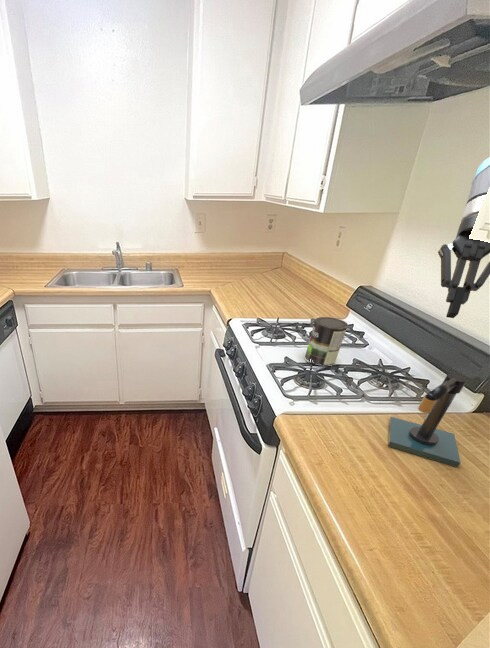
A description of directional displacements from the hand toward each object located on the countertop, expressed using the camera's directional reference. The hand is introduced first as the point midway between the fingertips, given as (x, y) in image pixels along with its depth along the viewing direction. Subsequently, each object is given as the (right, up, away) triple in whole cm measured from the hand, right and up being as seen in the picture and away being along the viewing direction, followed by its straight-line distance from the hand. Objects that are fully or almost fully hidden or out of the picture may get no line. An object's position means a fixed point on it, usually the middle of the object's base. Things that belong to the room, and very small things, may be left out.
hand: (452, 315), depth 81 cm
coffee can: (-13, -6, +40) cm, 43 cm away
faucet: (-5, -30, +4) cm, 31 cm away
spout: (-9, -20, -7) cm, 23 cm away
